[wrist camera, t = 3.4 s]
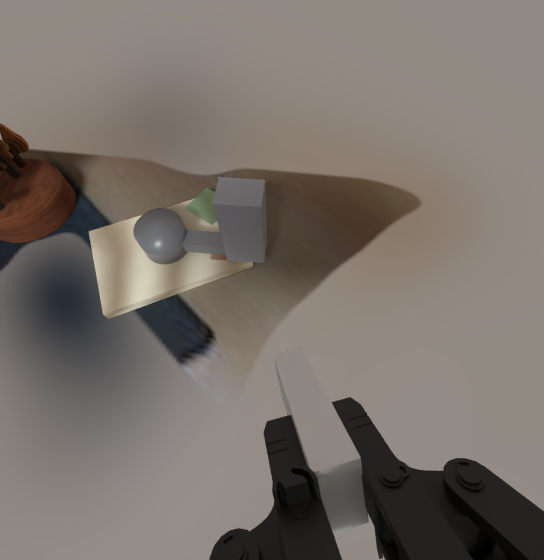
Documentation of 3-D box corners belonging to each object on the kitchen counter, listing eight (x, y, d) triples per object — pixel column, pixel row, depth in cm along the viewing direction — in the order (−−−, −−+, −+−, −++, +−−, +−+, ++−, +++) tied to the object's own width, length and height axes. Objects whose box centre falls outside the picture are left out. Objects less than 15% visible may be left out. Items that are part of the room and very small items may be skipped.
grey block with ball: (139, 262, 33) (95, 205, 25) (152, 225, 36) (115, 161, 27) (263, 272, 33) (259, 216, 24) (268, 233, 35) (266, 171, 27)
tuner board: (109, 318, 32) (103, 314, 31) (92, 230, 37) (87, 223, 36) (260, 264, 35) (259, 258, 34) (225, 189, 40) (224, 181, 39)
